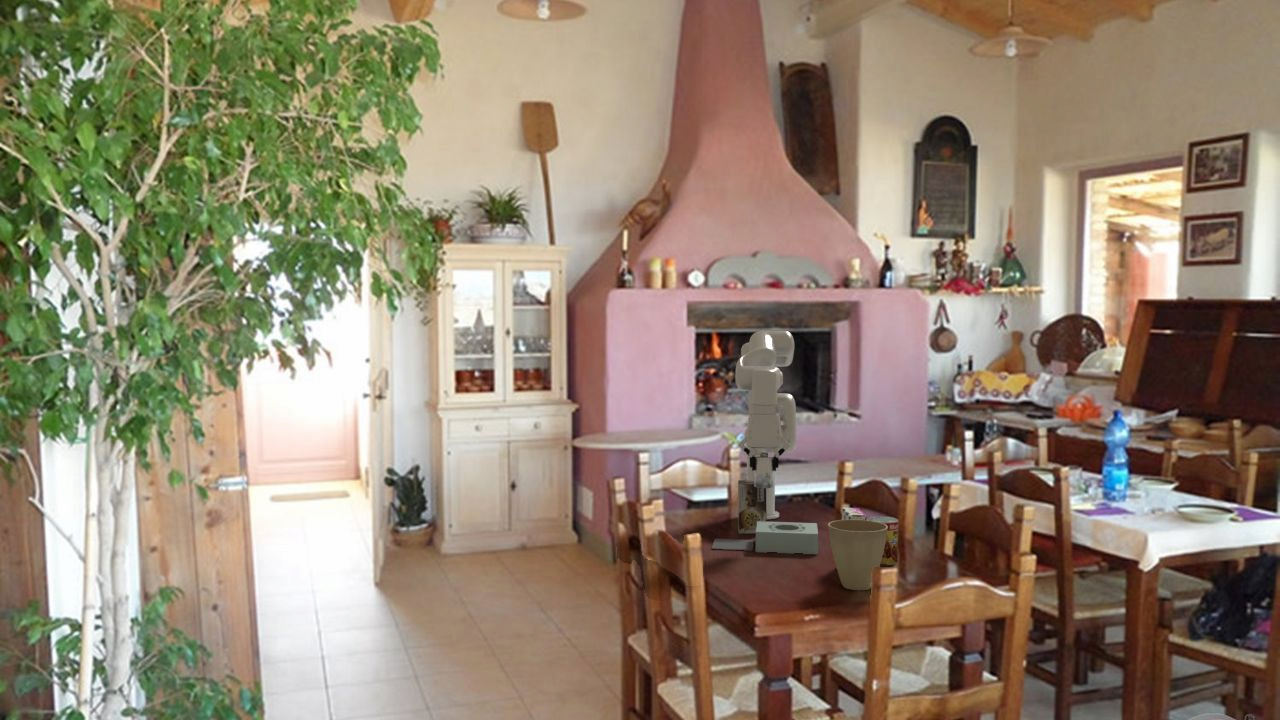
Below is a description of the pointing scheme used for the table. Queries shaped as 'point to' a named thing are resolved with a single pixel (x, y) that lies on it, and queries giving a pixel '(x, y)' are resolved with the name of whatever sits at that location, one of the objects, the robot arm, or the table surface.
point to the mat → (733, 544)
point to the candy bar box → (853, 514)
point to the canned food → (889, 539)
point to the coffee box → (750, 506)
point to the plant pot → (857, 550)
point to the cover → (764, 471)
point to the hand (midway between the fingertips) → (764, 469)
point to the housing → (787, 537)
